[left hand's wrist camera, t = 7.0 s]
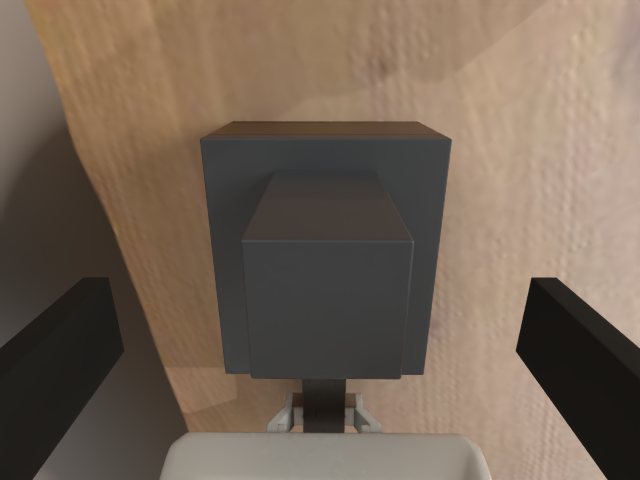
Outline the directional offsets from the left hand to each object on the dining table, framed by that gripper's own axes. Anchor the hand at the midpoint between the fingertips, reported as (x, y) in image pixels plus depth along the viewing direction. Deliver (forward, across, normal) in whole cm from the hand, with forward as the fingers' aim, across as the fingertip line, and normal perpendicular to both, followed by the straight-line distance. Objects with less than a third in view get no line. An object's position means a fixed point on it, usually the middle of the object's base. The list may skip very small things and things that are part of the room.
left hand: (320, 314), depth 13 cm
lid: (+12, 0, -3) cm, 12 cm away
